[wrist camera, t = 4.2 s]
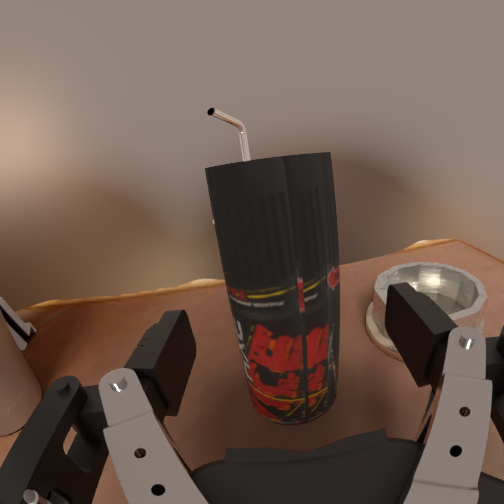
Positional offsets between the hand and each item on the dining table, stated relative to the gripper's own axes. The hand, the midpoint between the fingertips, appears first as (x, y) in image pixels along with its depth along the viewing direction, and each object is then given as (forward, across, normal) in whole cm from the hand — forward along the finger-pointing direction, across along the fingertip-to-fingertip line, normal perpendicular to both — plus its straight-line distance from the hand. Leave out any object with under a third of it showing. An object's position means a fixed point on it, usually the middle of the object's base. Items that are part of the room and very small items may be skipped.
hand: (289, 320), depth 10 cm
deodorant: (+4, 0, +9) cm, 10 cm away
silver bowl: (+9, -13, +9) cm, 18 cm away
